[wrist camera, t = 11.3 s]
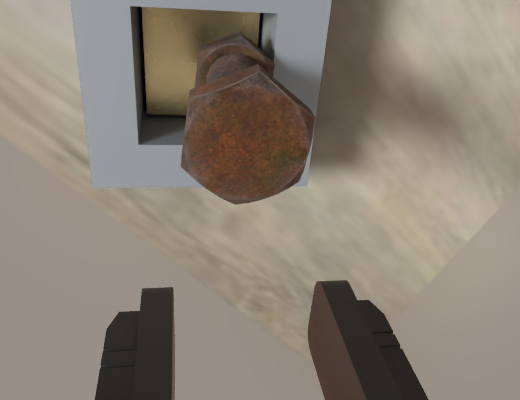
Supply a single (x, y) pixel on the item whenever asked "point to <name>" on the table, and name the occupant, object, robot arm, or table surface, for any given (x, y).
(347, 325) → the robot arm
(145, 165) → the socket block
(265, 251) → the table surface
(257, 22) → the beige square tile
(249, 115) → the bolt
